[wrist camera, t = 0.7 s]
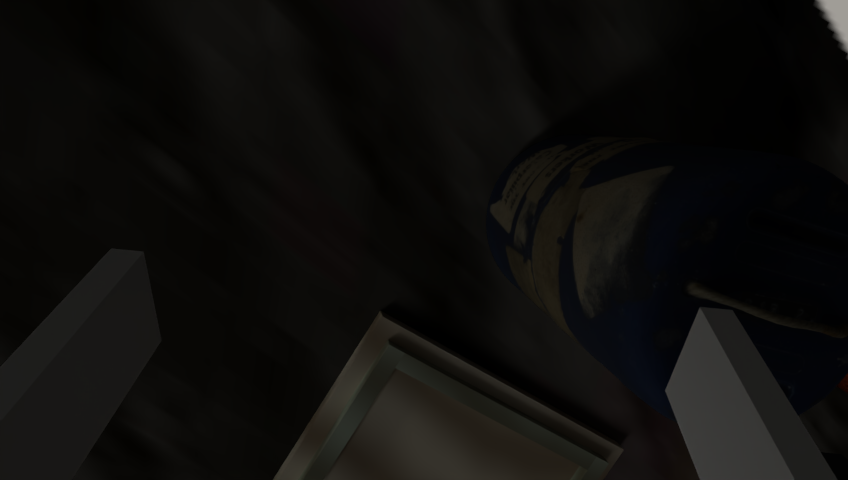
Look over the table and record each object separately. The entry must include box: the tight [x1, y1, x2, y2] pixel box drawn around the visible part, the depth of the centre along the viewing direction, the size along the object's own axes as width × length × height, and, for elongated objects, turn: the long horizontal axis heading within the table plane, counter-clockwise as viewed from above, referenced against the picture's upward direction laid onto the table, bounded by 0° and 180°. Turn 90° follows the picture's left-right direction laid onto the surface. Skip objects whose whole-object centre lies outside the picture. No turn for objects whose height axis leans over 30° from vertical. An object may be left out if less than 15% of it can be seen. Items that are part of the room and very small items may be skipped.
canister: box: [486, 135, 848, 423], centre depth 26 cm, size 10×10×18 cm
